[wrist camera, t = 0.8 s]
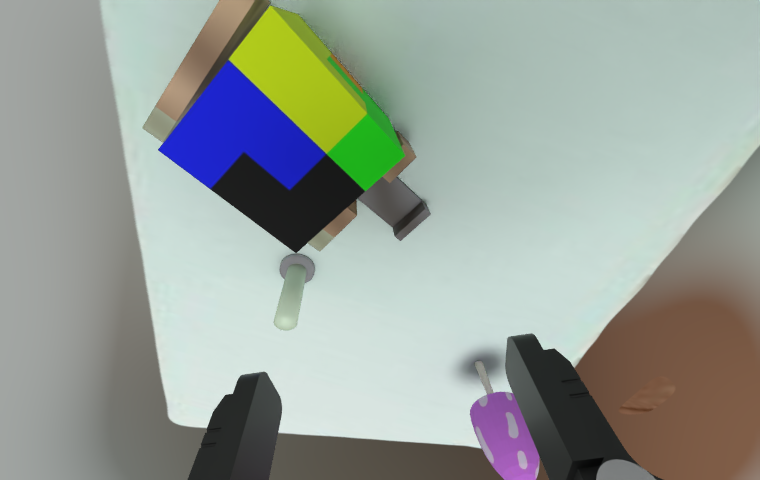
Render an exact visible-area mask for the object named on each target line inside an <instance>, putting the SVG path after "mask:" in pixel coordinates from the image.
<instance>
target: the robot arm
mask: <svg viewBox="0 0 760 480" xmlns="http://www.w3.org/2000/svg"><path fill="white" fill-rule="evenodd" d="M505 368H506V374H507V378H508V382H509V384H510V387H511V389H512V392H513V394H514V396H515V399H516V401H517V404H518V406H519V408H520V411H521V413H522V416H523V418H524V420H525V423H526V425H527V427H528V430H529V432H530V435H531V437H532V439H533V442H534V444H535V447H536V449H537V451H538V454H539V456H540V458H541V461H542V463H543V466H544V468H545V470H546V473H547V475H548V478H549V480H662V479H660V478H658V477H656V476H654V475H652V474H651V473H649V472H648V471H646V470H645V469H643V468H642V467H641V466H639V465H638V464H637V463H636V462H635V461H634V460H633V459H632V458H631V456H630V455H629V454H628V453H627V451H626V450H625V449H624V447H623V446H622V444H621V442H620V441H619V439H618V438H617V436H616V435H615V433H614V431H613V430H612V428H611V427H610V425H609V423H608V422H607V420H606V418H605V417H604V415H603V414H602V412H601V410H600V409H599V407H598V406H597V404H596V403H595V401H594V399H593V398H592V396H590V395H589V391H588V390H587V388H586V387H585V385H584V383H583V382H581V380H580V377H579V375H578V374H577V372H576V371H575V369H574V367H573V366H572V364H571V363H570V361H569V360H567V359H566V358H565V357H564V356H563V355H561V354H560V353H559V352H558V351H557V350H556V349H548V350H543V348H542V347H541V345H540V343H539V341H538V340H537V338H536V337H535V335H534V334H525V335H518V336H511V337H508V339H507V351H506V363H505ZM281 414H282V403H281V398H280V396H279V394H278V392H277V390H276V389H275V387H274V385H273V383H272V382H271V380H270V378H269V376H268V374H267V373H266V372H259V373H252V374H245V375H241V376H240V377H239V379H238V381H237V384H236V387H235V390H234V392H233V394H229V395H225V396H224V398H223V399H222V400H221V402H220V403H219V405H218V406H217V407H216V409H215V410H214V411H213V414H212V417H211V419H210V422H209V425H208V427H207V433H205V435H204V438H203V441H202V443H201V448H200V449H199V451H198V454H197V456H196V459H195V462H194V465H193V467H192V470H191V473H190V475H189V478H188V480H269V475H270V470H271V465H272V460H273V455H274V450H275V445H276V440H277V435H278V430H279V425H280V420H281Z"/></svg>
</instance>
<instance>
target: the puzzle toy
mask: <svg viewBox="0 0 760 480" xmlns="http://www.w3.org/2000/svg"><path fill="white" fill-rule="evenodd" d="M158 150H159V151H160V152H161V153H163V154H164V155H165V156H167V157H168V158H169V159H171V160H172V161H173V162H175V163H176V164H177V165H179V166H180V167H181V168H183V169H184V170H185V171H187V172H188V173H189V174H191V175H192V176H193V177H195V178H196V179H197V180H199V181H200V182H201V183H203V184H204V185H205V186H207V187H208V188H209V189H211V190H212V191H213V192H215V193H216V194H218V195H219V196H220V197H222V198H223V199H224V200H226V201H227V202H228V203H230V204H231V205H232V206H234V207H235V208H236V209H238V210H239V211H240V212H242V213H243V214H244V215H246V216H247V217H248V218H250V219H251V220H252V221H254V222H255V223H256V224H258V225H259V226H260V227H262V228H263V229H264V230H266V231H267V232H268V233H270V234H271V235H272V236H274V237H275V238H276V239H278V240H279V241H280V242H282V243H283V244H284V245H286V246H287V247H289V248H290V249H291V250H293V251H294V252H295V253H297V252H298V251H299V250H300V249H301V248H302V247H303V246H305V245H306V244H307V243H308V242H309V241H310V240H311V239H312V238H314V237H315V236H316V235H317V234H318V233H319V232H320V231H321V230H323V229H324V228H325V227H326V226H327V225H328V224H329V223H330V222H332V221H333V220H334V219H335V218H336V217H337V216H338V215H339V214H341V213H342V212H343V211H344V210H345V209H346V208H347V207H348V206H350V205H351V204H352V203H353V202H354V201H355V200H356V199H357V198H359V197H360V196H361V195H362V194H363V193H364V192H365V191H366V190H368V189H369V188H370V187H371V186H372V185H373V184H374V183H375V182H377V181H378V180H379V179H380V178H381V177H382V176H383V175H384V174H386V173H387V172H388V171H389V170H390V169H391V168H392V167H393V166H395V165H396V164H397V163H398V162H399V161H400V160H401V159H402V158H404V157H405V154H404V152H403V149H402V147H401V145H400V143H399V140H398V138H397V136H396V134H395V131H394V129H393V127H392V125H391V122H390V120H389V118H388V117H387V116H386V115H385V114H384V113H383V112H382V110H381V109H380V108H379V107H378V106H377V105H376V104H375V102H374V101H373V100H372V99H371V98H370V97H369V95H368V94H367V93H366V92H365V91H364V90H363V89H362V87H361V86H360V85H359V84H358V83H357V82H356V80H355V79H354V78H353V77H352V76H351V75H350V74H349V72H348V71H347V70H346V69H345V68H344V67H343V65H342V64H341V63H340V62H339V61H338V60H337V59H336V57H335V56H334V55H333V54H332V53H331V52H330V50H329V49H328V48H327V47H326V46H325V45H324V44H323V42H322V41H321V40H320V39H319V38H318V37H317V36H316V34H315V33H314V32H313V31H312V30H311V29H310V27H309V26H308V25H307V24H306V23H305V22H304V21H303V19H302V18H301V17H300V16H299V15H298V14H295V13H292V12H289V11H286V10H283V9H280V8H277V7H274V6H271V5H270V6H269V8H268V9H267V10H266V12H265V13H264V14H263V15H262V17H261V18H260V19H259V21H258V22H257V23H256V24H255V26H254V27H253V28H252V30H251V31H250V32H249V33H248V35H247V36H246V37H245V39H244V40H243V41H242V43H241V44H240V45H239V46H238V48H237V49H236V50H235V52H234V53H233V54H232V55H231V57H230V58H229V59H228V61H227V62H226V63H225V64H224V66H223V67H222V68H221V70H220V71H219V72H218V73H217V75H216V76H215V77H214V79H213V80H212V81H211V82H210V84H209V85H208V86H207V88H206V89H205V90H204V91H203V93H202V94H201V95H200V97H199V98H198V99H197V100H196V102H195V103H194V104H193V106H192V107H191V108H190V109H189V111H188V112H187V113H186V115H185V116H184V117H183V118H182V120H181V121H180V122H179V124H178V125H177V126H176V127H175V129H174V130H173V131H172V133H171V134H170V135H169V136H168V138H167V139H166V140H165V142H164V143H163V144H162V145H161V147H160V148H159V149H158Z"/></svg>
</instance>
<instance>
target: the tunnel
mask: <svg viewBox="0 0 760 480" xmlns="http://www.w3.org/2000/svg"><path fill="white" fill-rule="evenodd" d="M269 4H270V2H269V1H268V0H220V1H219V2H218V4H217V6H216V7H215V9H214V10H213V12H212V14H211V15H210V17H209V19H208V20H207V22H206V24H205V25H204V27H203V29H202V30H201V32H200V33H199V35H198V37H197V38H196V40H195V42H194V43H193V45H192V47H191V48H190V50H189V52H188V53H187V55H186V56H185V58H184V60H183V61H182V63H181V65H180V66H179V68H178V70H177V71H176V73H175V75H174V76H173V78H172V79H171V81H170V83H169V84H168V86H167V88H166V89H165V91H164V93H163V94H162V96H161V98H160V99H159V101H158V102H157V104H156V106H155V107H154V109H153V111H152V112H151V114H150V116H149V117H148V119H147V121H146V122H145V124H144V125H143V127H142V128H143V129H144V130H146V131H147V132H148V133H150V134H151V135H153V136H154V137H156V138H157V139H159V140H160V141H161V142H164V141H165V140H166V139H167V138H168V136H169V135H170V134H171V133H172V131H173V130H174V129H175V127H176V126H177V125H178V124H179V122H180V121H181V120H182V118H183V117H184V116H185V115H186V113H187V112H188V111H189V109H190V108H191V107H192V106H193V104H194V103H195V102H196V100H197V99H198V98H199V97H200V95H201V94H202V93H203V91H204V90H205V89H206V88H207V86H208V85H209V84H210V82H211V81H212V80H213V79H214V77H215V76H216V75H217V73H218V72H219V71H220V70H221V68H222V67H223V66H224V64H225V63H226V62H227V61H228V59H229V58H230V57H231V55H232V54H233V53H234V52H235V50H236V49H237V48H238V46H239V45H240V44H241V43H242V41H243V40H244V39H245V37H246V36H247V35H248V33H249V32H250V31H251V30H252V28H253V27H254V26H255V24H256V23H257V22H258V20H259V19H260V17H261V16H262V14H263V13H264V11H265V10H266V8H267V7H268V5H269ZM395 134H396V136H397V138H398V140H399V143H400V145H401V147H402V149H403V152H404V154H405V157H404V158H402V159H401V160H400V161H399V162H398V163H397V164H396V165H395V166H393V167H392V168H391V169H390V170H389V171H388V172H387V173H386V174H384V175H383V176H382V177H381V178H380V179H379V180H378V181H377V182H375V183H374V184H373V185H372V186H371V187H370V188H369V189H368V190H366V191H365V192H364V193H363V194H362V195H361V196H360V197H359V198H358V199H359V200H360V201H361V202H362V203H364V204H365V205H366V206H367V207H369V208H370V209H371V210H372V211H373V212H375V213H376V214H377V215H378V216H379V217H381V218H382V219H383V220H384V221H385V222H387V223H388V224H389V225H390V226H391V227H393V231H394V235H395V237H396V238H397V239H399V240H400V241H401V240H402V239H403V238H404V237H406V236H407V235H408V234H409V233H410V232H411V231H412V230H413V229H415V228H416V227H417V226H418V225H419V224H420V223H421V222H422V221H424V220H425V219H426V218H427V217H428V216H429V215H430V214H431V213H430V211H429V209H428V207H427V205H426V204H425V203H424V202H423V201H422V200H421V199H420V198H419V197H418V196H417V195H416V194H415V193H413V192H412V191H411V190H410V189H409V188H408V187H407V186H406V185H405V184H404V183H403V182H402V181H400V180H399V179H398V178H397V176H398V175H399V174H400V173H401V172H402V171H403V170H404V169H405V168H406V167H407V166H408V165H409V164H410V163H411V162H412V161H413V160H414V159H415V158H416V155H415V153H414V151H413V149H412V147H411V145H410V143H409V142H408V141H407V140H406V139H405V138H404V137H403V136H402V135H401V134H400V133H399V132H398V131H397V132H396V133H395ZM356 216H357V204H356V200H355V201H354V202H353V203H352V204H351V205H350V206H348V207H347V208H346V209H345V210H344V211H343V212H342V213H341V214H339V215H338V216H337V217H336V218H335V219H334V220H333V221H332V222H330V223H329V224H328V225H327V226H326V227H325V228H324V229H323V230H321V231H320V232H319V233H318V234H317V235H316V236H315V237H314V238H312V239H311V240H310V241H309V242H308V244H310V245H311V246H312V247H314V248H315V249H317V250H318V251H321V250H322V249H323V248H324V247H325V246H326V245H327V244H328V243H329V242H330V241H331V240H332V239H333V238H334V237H335V236H336V235H337V234H338V233H339V232H340V231H342V230H343V229H344V228H345V227H346V226H347V225H348V224H349V223H350V222H351V221H352V220H353V219H354V218H355V217H356Z"/></svg>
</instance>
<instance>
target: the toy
mask: <svg viewBox="0 0 760 480" xmlns="http://www.w3.org/2000/svg"><path fill="white" fill-rule="evenodd" d="M475 366H476V369H477V371H478V374H479V376H480V378H481V381H482V383H483V386H484V388H485V390H486V393H487V395H485V396H483V397H481V398H480V399H478V400H477V401H476V402H475V403H474V404H473V405H472V407H471V410H470V416H471V421H472V424H473V427H474V431H475V433H476V436H477V438H478V441H479V443H480V445H481V447H482V449H483V451H484V453H485V455H486V457H487V459H488V460H489V461H490V463H491V464H492V466H493V467H494V469H495V470H496V471H497V472H498V473H499V474H500V475H501V476H502V478H504V479H505V480H536V478H537V475H538V471H539V454H538V451H537V449H536V447H535V444H534V442H533V439H532V437H531V435H530V432H529V430H528V427H527V425H526V423H525V420H524V418H523V416H522V413H521V411H520V408H519V406H518V404H517V401H516V399H515V396H514V394H513V393H509V392H495V393H493V390H492V387H491V385H490V382H489V379H488V376H487V373H486V370H485V368H484V365H483V362H482V361H477V362H475Z"/></svg>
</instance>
